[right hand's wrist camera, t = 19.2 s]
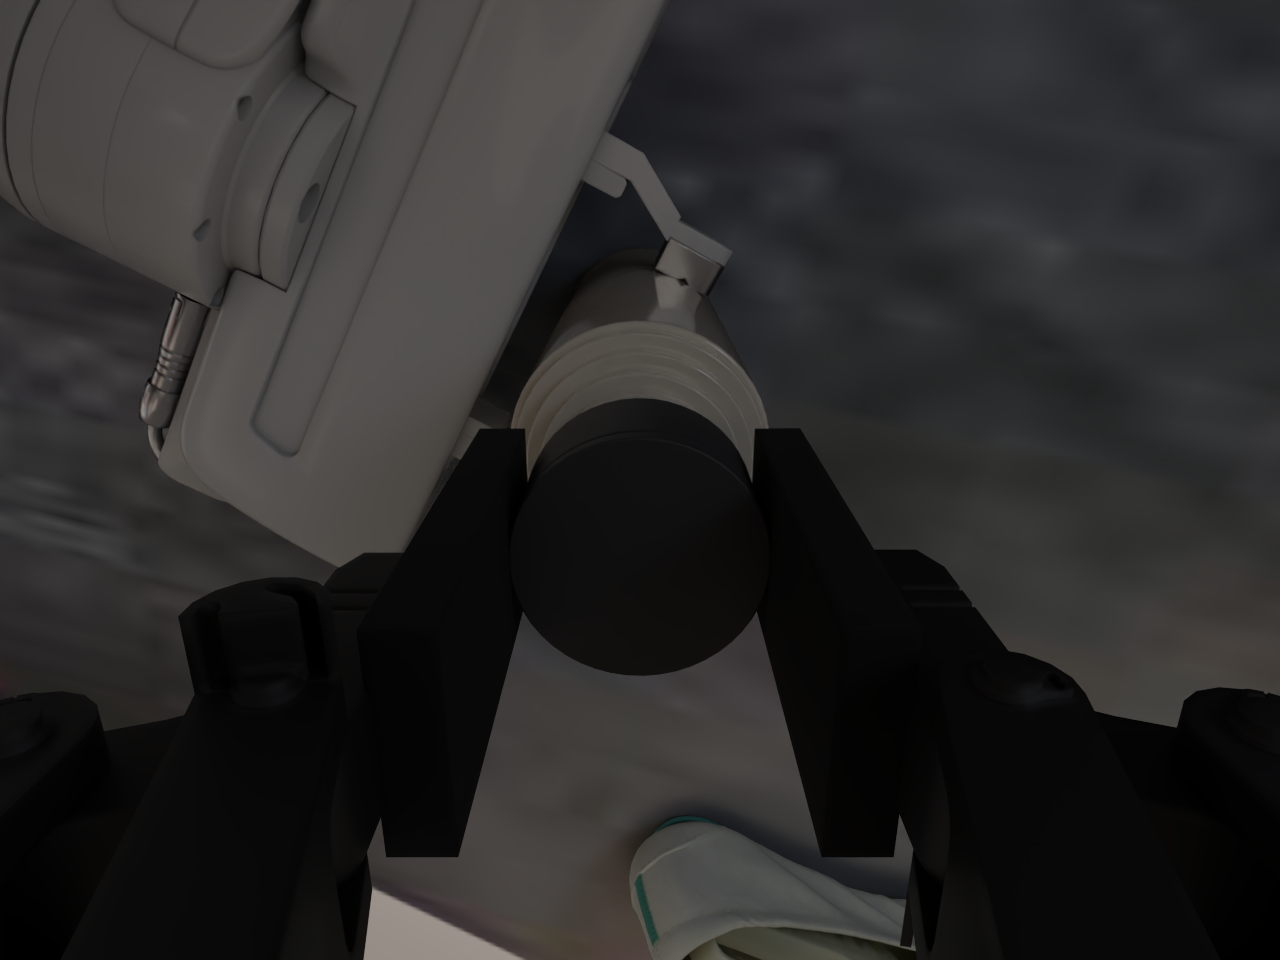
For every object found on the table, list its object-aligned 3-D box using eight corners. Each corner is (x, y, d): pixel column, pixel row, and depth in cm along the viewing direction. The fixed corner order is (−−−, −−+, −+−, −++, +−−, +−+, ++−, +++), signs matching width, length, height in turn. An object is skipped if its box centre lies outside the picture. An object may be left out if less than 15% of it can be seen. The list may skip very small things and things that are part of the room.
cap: (735, 615, 15) (750, 687, 13) (520, 596, 15) (501, 664, 13) (769, 409, 14) (792, 452, 12) (533, 385, 14) (515, 423, 12)
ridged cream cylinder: (688, 228, 31) (767, 328, 12) (726, 366, 32) (846, 647, 13) (550, 272, 31) (412, 435, 12) (594, 405, 33) (533, 727, 14)
